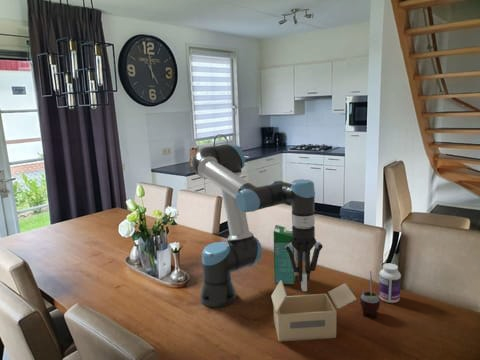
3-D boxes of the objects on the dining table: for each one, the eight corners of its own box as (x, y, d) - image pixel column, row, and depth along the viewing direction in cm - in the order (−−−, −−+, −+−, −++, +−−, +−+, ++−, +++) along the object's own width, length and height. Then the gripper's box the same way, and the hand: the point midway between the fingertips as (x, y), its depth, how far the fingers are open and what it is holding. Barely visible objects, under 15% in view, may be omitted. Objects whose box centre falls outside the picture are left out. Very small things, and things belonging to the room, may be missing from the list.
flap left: (272, 296, 133) (281, 280, 131) (276, 313, 122) (287, 295, 121) (270, 296, 133) (280, 279, 131) (275, 312, 122) (285, 295, 121)
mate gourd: (369, 321, 133) (370, 284, 130) (354, 310, 140) (355, 275, 137) (384, 315, 136) (386, 279, 133) (369, 305, 143) (370, 270, 140)
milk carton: (294, 284, 162) (294, 231, 157) (274, 283, 164) (273, 231, 158) (295, 275, 171) (295, 225, 165) (276, 274, 172) (275, 224, 167)
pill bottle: (399, 295, 150) (400, 263, 147) (400, 305, 142) (402, 271, 139) (378, 292, 152) (379, 260, 149) (378, 302, 145) (380, 269, 142)
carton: (278, 341, 124) (278, 315, 122) (273, 321, 135) (273, 297, 133) (336, 337, 124) (336, 311, 122) (326, 317, 136) (326, 293, 134)
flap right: (336, 308, 123) (356, 298, 122) (327, 292, 133) (345, 282, 133) (337, 309, 123) (356, 299, 123) (328, 293, 134) (345, 284, 133)
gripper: (286, 230, 118) (287, 296, 123) (325, 227, 118) (325, 293, 123) (282, 223, 125) (283, 285, 130) (319, 220, 126) (319, 282, 130)
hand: (304, 289), depth 126 cm, fingers closed
